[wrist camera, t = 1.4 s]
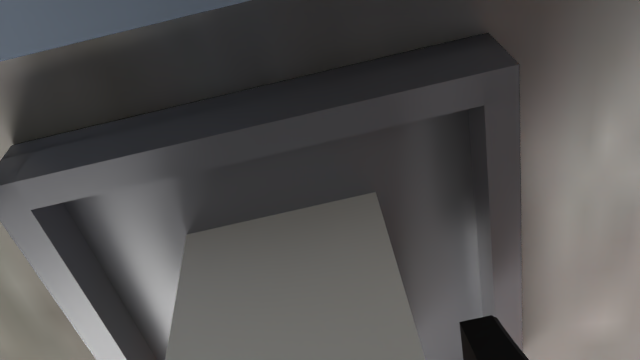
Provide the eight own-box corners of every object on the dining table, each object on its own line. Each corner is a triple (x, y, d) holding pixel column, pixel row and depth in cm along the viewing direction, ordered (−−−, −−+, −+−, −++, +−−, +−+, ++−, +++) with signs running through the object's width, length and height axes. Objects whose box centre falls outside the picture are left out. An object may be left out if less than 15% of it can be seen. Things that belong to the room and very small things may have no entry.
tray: (488, 32, 10) (519, 64, 9) (502, 372, 16) (523, 420, 15) (11, 145, 11) (-22, 190, 9) (191, 437, 16) (185, 489, 15)
